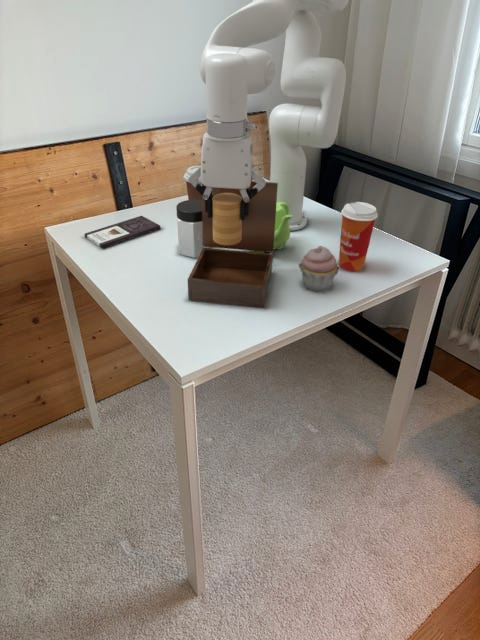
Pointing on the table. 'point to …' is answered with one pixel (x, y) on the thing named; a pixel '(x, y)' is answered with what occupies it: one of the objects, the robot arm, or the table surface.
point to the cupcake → (318, 269)
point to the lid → (249, 220)
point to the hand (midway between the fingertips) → (227, 216)
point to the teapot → (281, 226)
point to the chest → (231, 277)
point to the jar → (190, 228)
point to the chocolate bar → (122, 231)
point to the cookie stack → (227, 218)
